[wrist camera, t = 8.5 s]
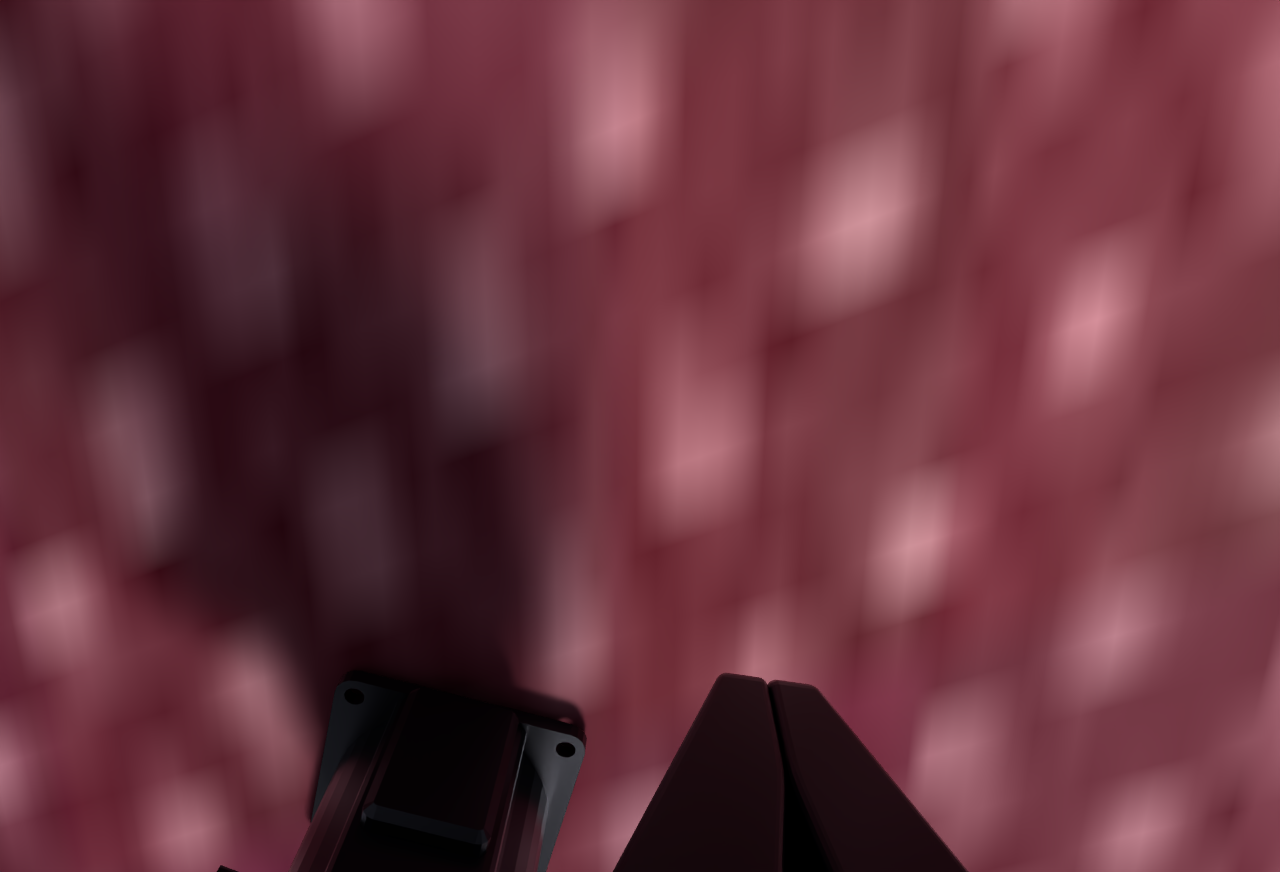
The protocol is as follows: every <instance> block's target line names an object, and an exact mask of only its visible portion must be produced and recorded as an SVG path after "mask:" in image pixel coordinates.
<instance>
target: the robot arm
mask: <svg viewBox="0 0 1280 872" xmlns="http://www.w3.org/2000/svg"><path fill="white" fill-rule="evenodd" d="M350 688H353V689H358V690H360V691H361V692H362V693H363V694H357V693H355V692H353V691H352V690H351V689H350ZM562 742H569V743H571V744H573V746H570V747H568V746H563V745H561V744H560V743H562ZM585 748H586V735H585V733H584V732H583V731H582V730H581V729H580V728H579V727H577V726H575V725H572V724H569V723H565V722H561V721H557V720H553V719H549V718H545V717H541V716H537V715H533V714H529V713H525V712H521V711H517V710H513V709H509V708H505V707H502V706H498V705H494V704H490V703H486V702H482V701H478V700H474V699H470V698H466V697H462V696H458V695H454V694H450V693H446V692H442V691H438V690H435V689H431V688H427V687H423V686H419V685H415V684H411V683H407V682H403V681H399V680H395V679H391V678H387V677H383V676H379V675H375V674H372V673H368V672H364V671H355V670H354V671H350V672H347V673H346V674H345V675H343V676H342V678H341V680H340V682H339V684H338V686H337V688H336V690H335V693H334V699H333V704H332V710H331V715H330V721H329V726H328V731H327V737H326V742H325V748H324V753H323V759H322V764H321V770H320V775H319V781H318V786H317V792H316V797H315V803H314V808H313V814H312V819H311V824H310V826H309V828H308V831H307V833H306V835H305V837H304V839H303V841H302V843H301V846H300V848H299V850H298V852H297V854H296V856H295V858H294V861H293V863H292V865H291V867H290V869H289V871H288V872H546V869H547V866H548V863H549V860H550V857H551V854H552V851H553V848H554V845H555V842H556V839H557V836H558V833H559V830H560V827H561V824H562V821H563V818H564V815H565V812H566V809H567V806H568V803H569V800H570V797H571V794H572V791H573V788H574V785H575V782H576V779H577V776H578V773H579V770H580V767H581V764H582V761H583V758H584V755H585ZM217 872H238V871H235V870H232V869H230V868H227V867H225V866H222V865H221V866H220V867H219V869H218V871H217ZM613 872H968V871H967V869H966V868H965V867H964V866H963V865H962V863H961V862H960V861H959V860H958V859H957V857H956V856H955V855H954V854H953V852H952V851H951V850H950V849H949V848H948V846H947V845H946V844H945V843H944V842H943V840H942V839H941V838H940V837H939V835H938V834H937V833H936V832H935V831H934V829H933V828H932V827H931V826H930V824H929V823H928V822H927V821H926V820H925V818H924V817H923V816H922V815H921V814H920V812H919V811H918V810H917V809H916V807H915V806H914V805H913V804H912V803H911V801H910V800H909V799H908V798H907V797H906V795H905V794H904V793H903V792H902V790H901V789H900V788H899V787H898V786H897V784H896V783H895V782H894V781H893V779H892V778H891V777H890V776H889V775H888V773H887V772H886V771H885V770H884V769H883V767H882V766H881V765H880V764H879V762H878V761H877V760H876V759H875V758H874V756H873V755H872V754H871V753H870V752H869V750H868V749H867V748H866V747H865V745H864V744H863V743H862V742H861V741H860V739H859V738H858V737H857V736H856V734H855V733H854V732H853V731H852V730H851V728H850V727H849V726H848V725H847V724H846V722H845V721H844V720H843V719H842V717H841V716H840V715H839V714H838V713H837V711H836V710H835V709H834V708H833V707H832V705H831V704H830V703H829V702H828V700H827V699H826V698H825V697H824V696H823V694H822V693H821V692H820V691H819V690H818V689H817V688H816V687H814V686H812V685H809V684H802V683H795V682H787V681H780V680H773V681H771V682H769V683H768V685H767V683H766V682H765V681H764V680H763V679H762V678H759V677H752V676H745V675H738V674H731V673H723V674H721V675H720V676H719V677H718V678H717V679H716V681H715V683H714V685H713V687H712V689H711V690H710V692H709V694H708V696H707V698H706V700H705V702H704V703H703V705H702V707H701V709H700V711H699V713H698V715H697V716H696V718H695V720H694V722H693V724H692V726H691V728H690V729H689V731H688V733H687V735H686V737H685V739H684V741H683V742H682V744H681V746H680V748H679V750H678V752H677V754H676V755H675V757H674V759H673V761H672V763H671V765H670V767H669V768H668V770H667V772H666V774H665V776H664V778H663V780H662V781H661V783H660V785H659V787H658V789H657V791H656V793H655V794H654V796H653V798H652V800H651V802H650V804H649V805H648V807H647V809H646V811H645V813H644V815H643V817H642V818H641V820H640V822H639V824H638V826H637V828H636V830H635V831H634V833H633V835H632V837H631V839H630V841H629V843H628V844H627V846H626V848H625V850H624V852H623V854H622V856H621V857H620V859H619V861H618V863H617V865H616V867H615V869H614V870H613Z"/></svg>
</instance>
